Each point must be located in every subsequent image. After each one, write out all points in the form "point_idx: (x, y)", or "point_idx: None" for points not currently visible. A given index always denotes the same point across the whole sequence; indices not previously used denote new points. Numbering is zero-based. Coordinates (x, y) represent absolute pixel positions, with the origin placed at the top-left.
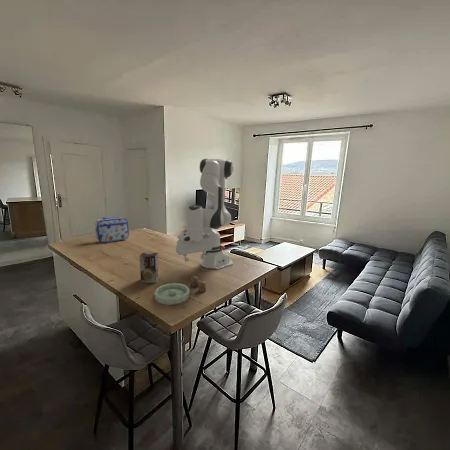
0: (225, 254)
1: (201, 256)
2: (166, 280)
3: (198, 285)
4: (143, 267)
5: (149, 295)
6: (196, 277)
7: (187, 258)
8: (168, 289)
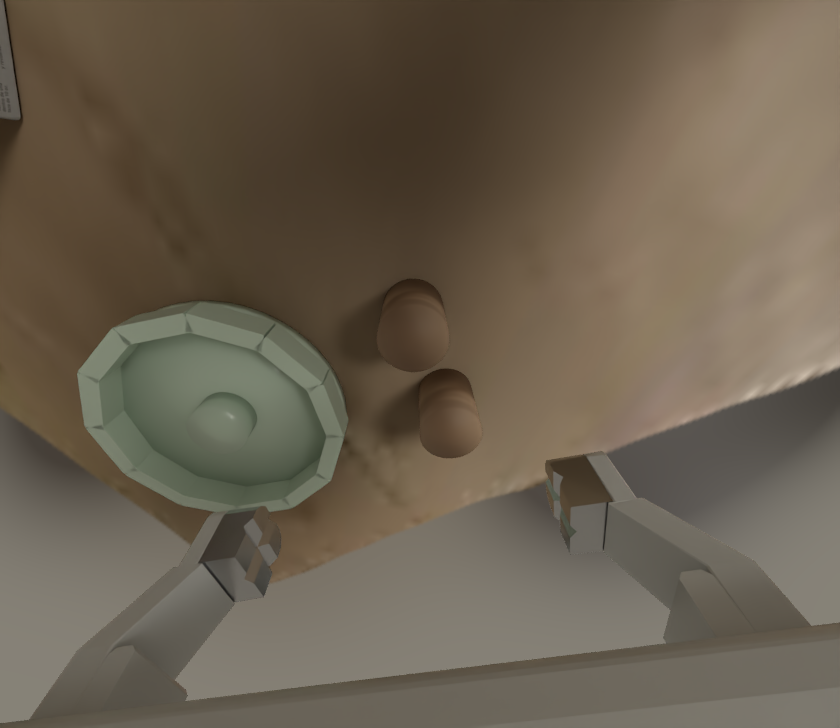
0: None
1: (566, 531)
2: (128, 86)
3: (419, 417)
4: None
5: (62, 358)
6: (430, 338)
7: (241, 596)
8: (188, 342)
